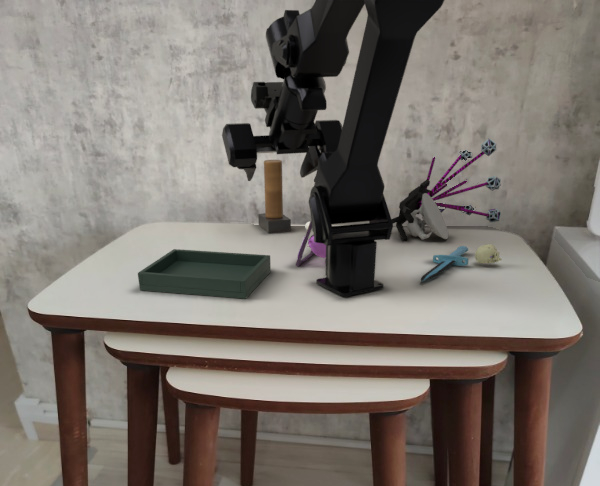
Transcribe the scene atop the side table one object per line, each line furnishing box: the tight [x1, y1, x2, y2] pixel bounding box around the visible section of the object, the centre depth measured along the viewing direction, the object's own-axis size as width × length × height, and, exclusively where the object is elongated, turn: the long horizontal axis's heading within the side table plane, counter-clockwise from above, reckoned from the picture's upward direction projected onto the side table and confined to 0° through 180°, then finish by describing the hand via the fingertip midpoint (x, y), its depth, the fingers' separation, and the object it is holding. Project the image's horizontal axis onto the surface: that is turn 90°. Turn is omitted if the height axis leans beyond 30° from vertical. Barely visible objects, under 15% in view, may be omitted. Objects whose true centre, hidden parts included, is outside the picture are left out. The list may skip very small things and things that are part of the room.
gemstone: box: [474, 243, 503, 265], centre depth 85 cm, size 3×4×3 cm
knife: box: [420, 245, 469, 283], centre depth 84 cm, size 17×1×5 cm
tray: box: [137, 248, 272, 300], centre depth 80 cm, size 14×11×2 cm
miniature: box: [407, 193, 449, 241], centre depth 98 cm, size 8×8×5 cm
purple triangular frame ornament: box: [295, 221, 326, 267], centre depth 87 cm, size 7×5×9 cm
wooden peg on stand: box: [257, 159, 292, 234], centre depth 102 cm, size 6×4×11 cm, turn 20°
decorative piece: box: [391, 138, 502, 243], centre depth 103 cm, size 14×14×30 cm
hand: (275, 176), depth 100 cm, fingers open, 9 cm apart
